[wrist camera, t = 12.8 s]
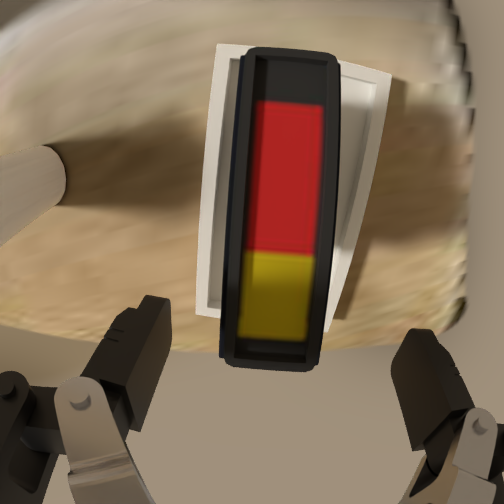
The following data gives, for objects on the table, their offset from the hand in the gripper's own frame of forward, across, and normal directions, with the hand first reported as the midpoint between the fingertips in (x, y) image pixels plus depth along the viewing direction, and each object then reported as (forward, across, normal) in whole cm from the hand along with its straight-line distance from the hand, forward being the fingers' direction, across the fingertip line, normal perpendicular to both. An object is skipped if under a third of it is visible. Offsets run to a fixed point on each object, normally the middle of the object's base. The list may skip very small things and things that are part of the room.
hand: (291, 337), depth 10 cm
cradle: (+16, 0, 0) cm, 16 cm away
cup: (+16, +22, 0) cm, 28 cm away
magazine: (+16, 0, +1) cm, 16 cm away
